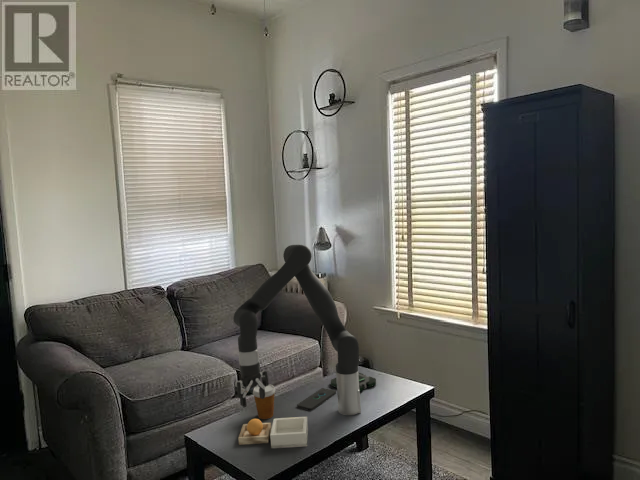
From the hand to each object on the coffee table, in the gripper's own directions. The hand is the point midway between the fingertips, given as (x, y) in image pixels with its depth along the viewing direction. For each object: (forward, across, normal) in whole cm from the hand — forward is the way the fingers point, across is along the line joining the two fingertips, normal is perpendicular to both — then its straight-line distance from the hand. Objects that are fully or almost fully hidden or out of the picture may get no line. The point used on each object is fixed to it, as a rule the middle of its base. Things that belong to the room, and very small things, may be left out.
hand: (253, 402), depth 184 cm
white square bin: (+14, -7, +11) cm, 19 cm away
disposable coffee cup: (+14, -13, -11) cm, 22 cm away
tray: (+14, 0, 0) cm, 14 cm away
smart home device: (+15, -37, -4) cm, 40 cm away
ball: (+10, 0, 0) cm, 10 cm away
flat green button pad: (+15, -59, -2) cm, 61 cm away
